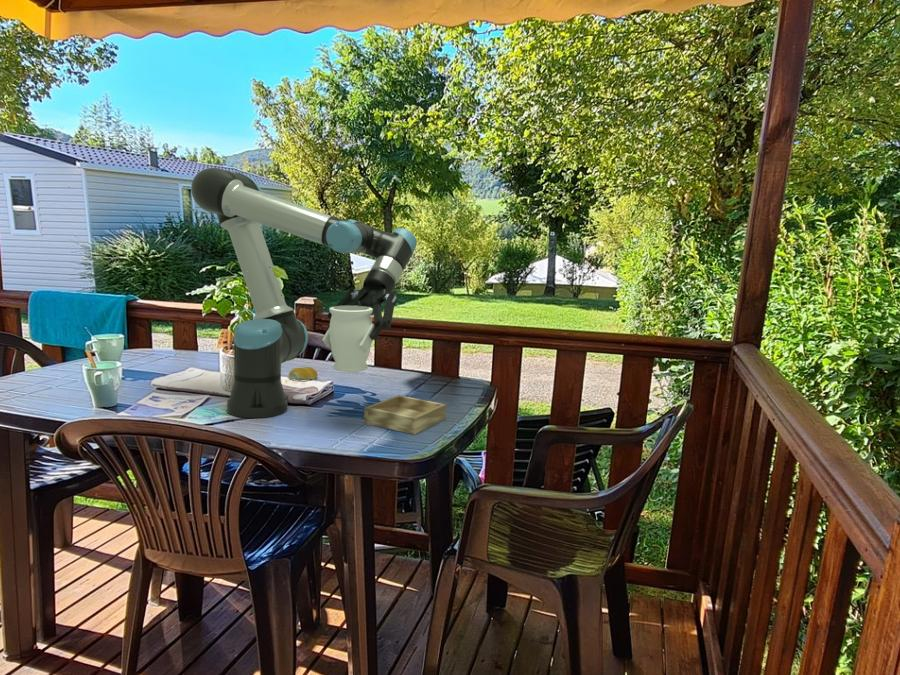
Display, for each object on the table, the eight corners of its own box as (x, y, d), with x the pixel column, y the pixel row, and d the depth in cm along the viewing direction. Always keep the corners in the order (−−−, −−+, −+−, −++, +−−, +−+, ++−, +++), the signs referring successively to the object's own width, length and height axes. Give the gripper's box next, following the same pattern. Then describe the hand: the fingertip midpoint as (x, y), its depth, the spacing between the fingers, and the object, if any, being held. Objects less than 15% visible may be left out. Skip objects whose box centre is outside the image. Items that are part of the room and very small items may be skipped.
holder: (363, 422, 148) (364, 407, 147) (397, 409, 162) (398, 395, 161) (414, 434, 141) (415, 418, 140) (445, 419, 155) (446, 404, 154)
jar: (375, 373, 139) (376, 310, 136) (331, 374, 136) (331, 311, 133) (368, 363, 149) (369, 305, 146) (327, 364, 146) (327, 304, 143)
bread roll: (322, 379, 192) (322, 367, 192) (301, 383, 185) (301, 371, 184) (305, 374, 197) (305, 363, 196) (284, 378, 190) (284, 366, 189)
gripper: (425, 291, 147) (389, 361, 136) (353, 285, 158) (314, 349, 147) (415, 270, 142) (377, 342, 131) (340, 265, 152) (299, 331, 141)
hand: (343, 346), depth 139 cm, fingers closed on jar, 10 cm apart
